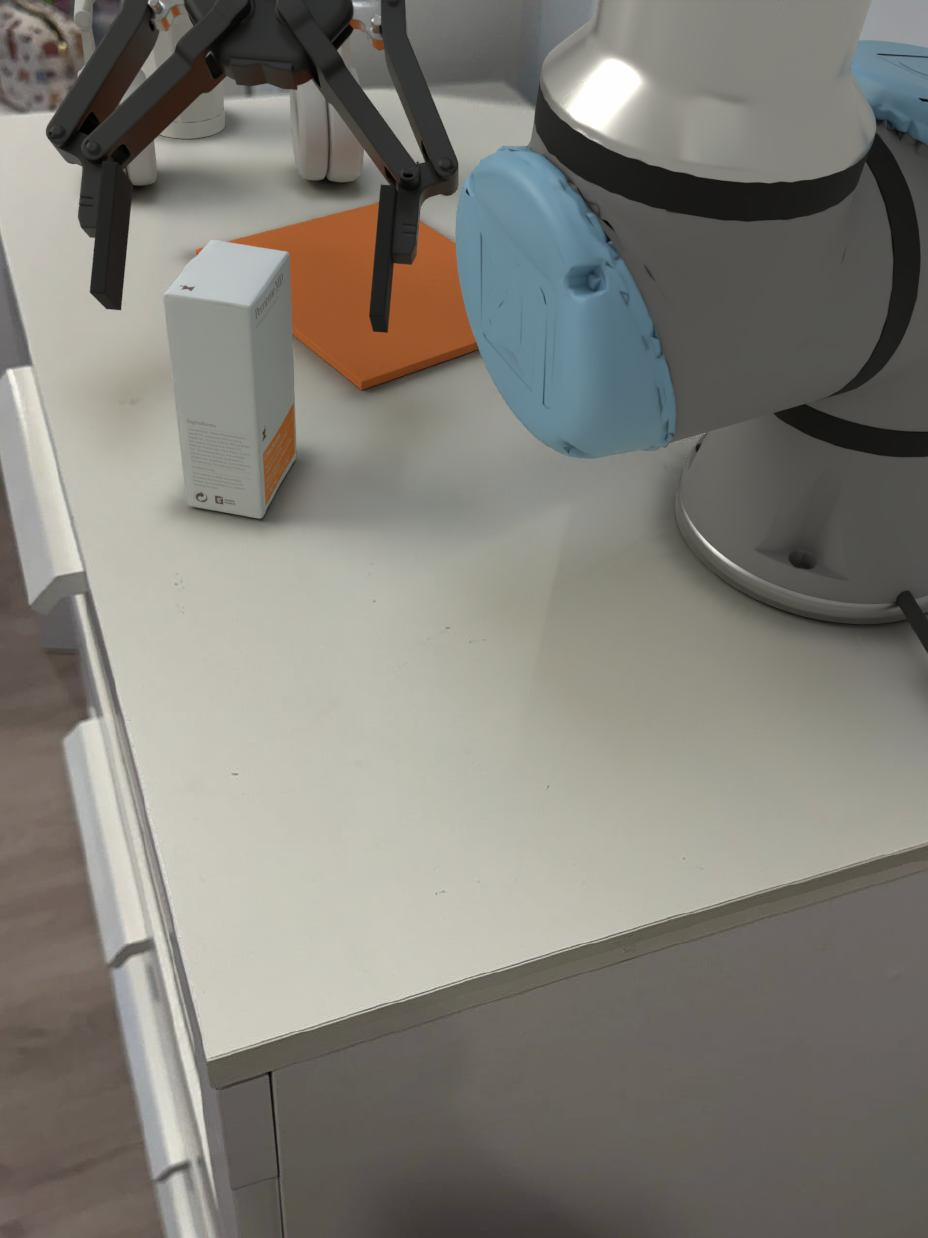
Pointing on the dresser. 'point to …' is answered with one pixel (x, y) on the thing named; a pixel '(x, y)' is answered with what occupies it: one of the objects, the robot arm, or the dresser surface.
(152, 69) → the cup
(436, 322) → the orange rectangular board
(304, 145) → the headphones
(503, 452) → the dresser surface
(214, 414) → the cosmetic box
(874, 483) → the robot arm
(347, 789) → the dresser surface
